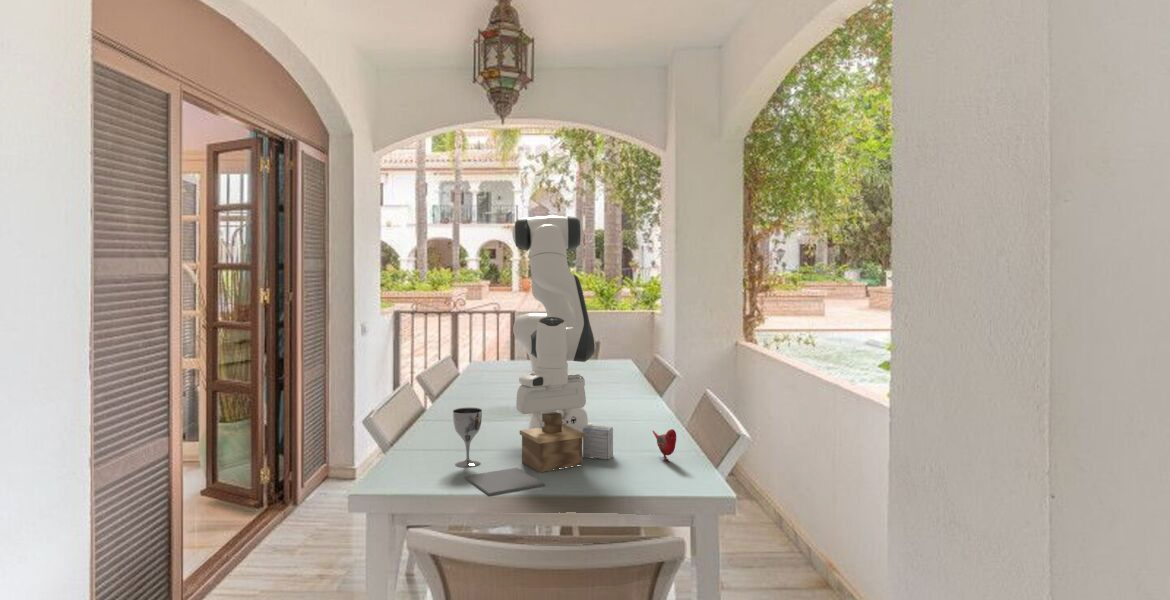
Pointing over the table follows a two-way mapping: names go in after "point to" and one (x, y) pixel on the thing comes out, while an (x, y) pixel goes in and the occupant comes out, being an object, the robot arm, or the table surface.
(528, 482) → the mat
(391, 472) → the table surface
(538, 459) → the storage box
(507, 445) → the table surface
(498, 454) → the table surface
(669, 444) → the decorative bird figurine
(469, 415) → the wine glass
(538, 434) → the lid
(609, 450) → the medicine box
